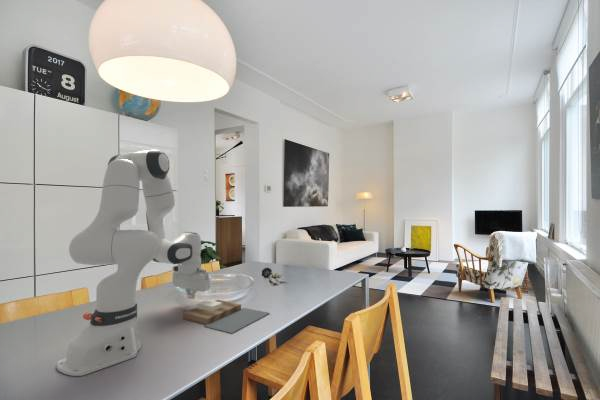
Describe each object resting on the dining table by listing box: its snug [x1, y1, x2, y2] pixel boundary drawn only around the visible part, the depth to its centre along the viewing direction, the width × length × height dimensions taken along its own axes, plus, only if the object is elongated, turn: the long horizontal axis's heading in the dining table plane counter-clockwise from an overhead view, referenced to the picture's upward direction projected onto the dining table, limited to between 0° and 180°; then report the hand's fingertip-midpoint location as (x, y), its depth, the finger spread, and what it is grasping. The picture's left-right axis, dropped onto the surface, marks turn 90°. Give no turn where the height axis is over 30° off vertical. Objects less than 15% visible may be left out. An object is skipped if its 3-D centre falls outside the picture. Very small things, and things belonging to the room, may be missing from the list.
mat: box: [203, 307, 270, 335], centre depth 129 cm, size 24×14×1 cm, turn 151°
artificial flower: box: [261, 267, 283, 286], centre depth 193 cm, size 9×22×10 cm, turn 17°
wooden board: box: [182, 299, 242, 326], centre depth 136 cm, size 20×14×2 cm
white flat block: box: [196, 299, 222, 311], centre depth 137 cm, size 6×9×2 cm, turn 61°
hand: (191, 298), depth 143 cm, fingers closed
